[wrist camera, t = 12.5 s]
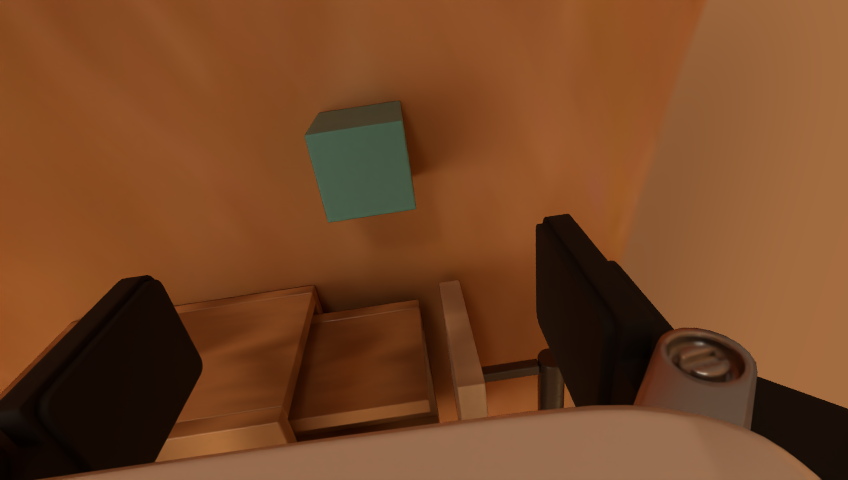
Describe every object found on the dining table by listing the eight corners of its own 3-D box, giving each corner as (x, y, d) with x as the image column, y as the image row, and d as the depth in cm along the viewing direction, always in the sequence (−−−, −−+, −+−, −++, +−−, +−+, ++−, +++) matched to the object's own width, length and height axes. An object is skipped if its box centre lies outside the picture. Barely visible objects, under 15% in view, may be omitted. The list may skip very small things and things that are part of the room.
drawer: (538, 267, 25) (595, 367, 18) (539, 400, 31) (582, 515, 24) (229, 314, 25) (170, 431, 18) (286, 439, 31) (256, 564, 24)
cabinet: (314, 284, 25) (278, 422, 17) (358, 423, 32) (347, 574, 23) (71, 321, 26) (-83, 477, 17) (162, 452, 32) (81, 615, 23)
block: (318, 112, 21) (303, 135, 17) (400, 100, 21) (402, 120, 17) (337, 188, 23) (327, 223, 19) (412, 177, 23) (416, 209, 19)
